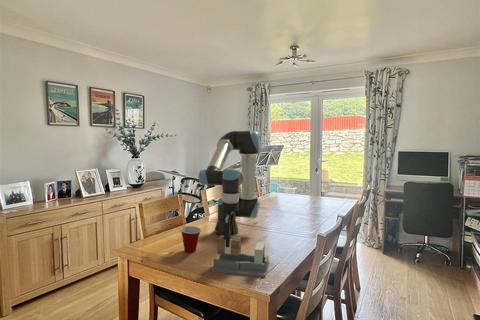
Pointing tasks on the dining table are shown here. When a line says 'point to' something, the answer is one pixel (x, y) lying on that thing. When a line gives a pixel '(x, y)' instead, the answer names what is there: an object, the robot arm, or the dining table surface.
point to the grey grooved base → (244, 263)
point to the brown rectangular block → (234, 246)
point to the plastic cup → (190, 238)
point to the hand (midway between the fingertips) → (229, 251)
